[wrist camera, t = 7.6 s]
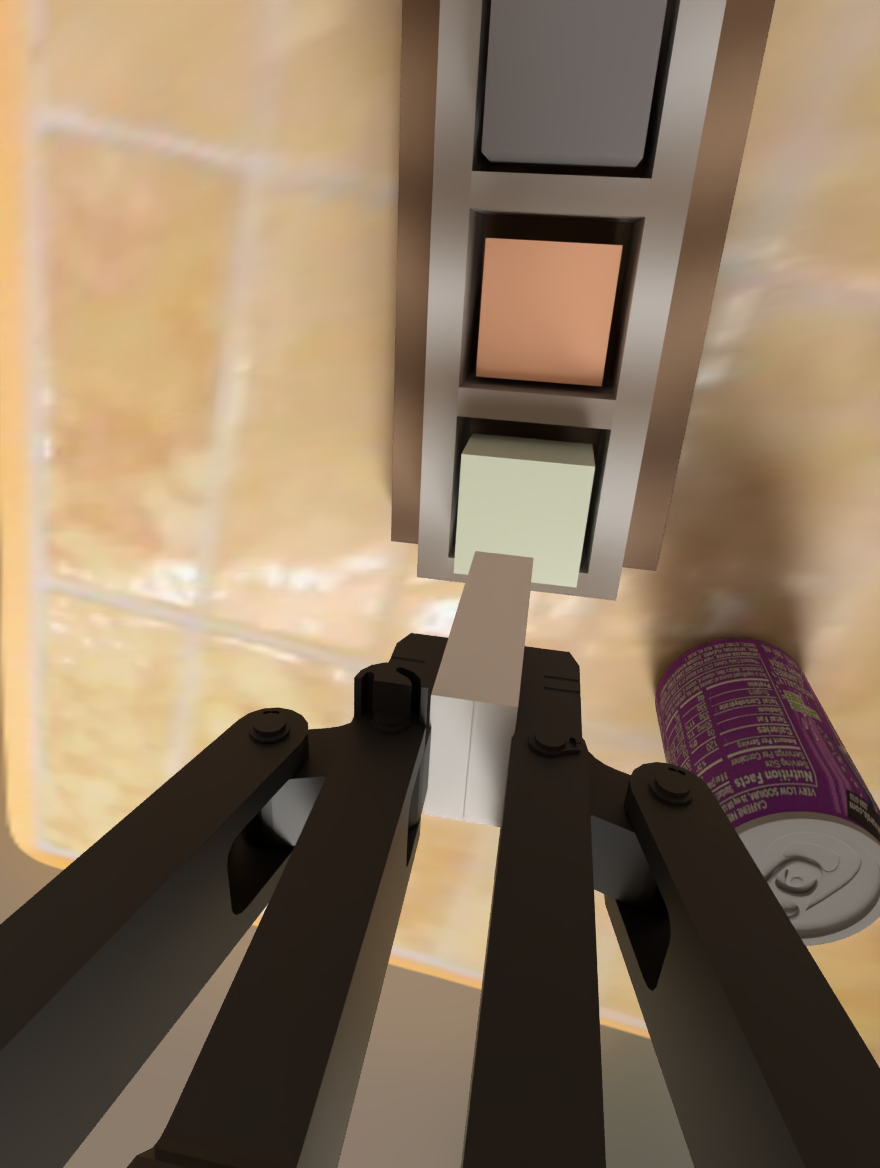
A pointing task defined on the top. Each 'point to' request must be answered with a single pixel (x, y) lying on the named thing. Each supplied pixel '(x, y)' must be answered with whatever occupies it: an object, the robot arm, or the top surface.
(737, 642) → the beverage can
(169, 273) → the top surface
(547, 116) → the key charcoal
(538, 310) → the key terracotta
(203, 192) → the top surface
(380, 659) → the top surface
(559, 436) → the slotted block tray
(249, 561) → the top surface
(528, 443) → the key sage
